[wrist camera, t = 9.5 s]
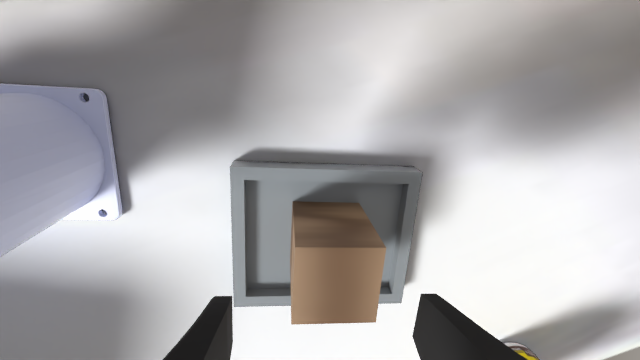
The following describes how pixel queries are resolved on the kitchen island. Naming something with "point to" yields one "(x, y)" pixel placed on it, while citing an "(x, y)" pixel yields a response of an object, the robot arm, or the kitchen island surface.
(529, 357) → the supplement bottle
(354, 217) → the walnut block
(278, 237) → the grey tray
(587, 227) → the kitchen island surface
